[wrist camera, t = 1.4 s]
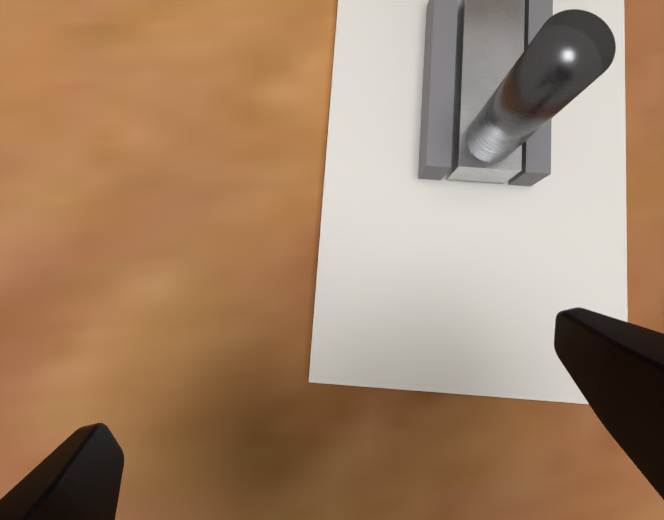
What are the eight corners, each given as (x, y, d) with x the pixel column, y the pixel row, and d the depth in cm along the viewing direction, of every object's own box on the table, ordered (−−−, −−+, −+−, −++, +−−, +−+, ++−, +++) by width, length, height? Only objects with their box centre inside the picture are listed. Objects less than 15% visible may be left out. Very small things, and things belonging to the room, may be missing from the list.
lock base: (608, 400, 21) (819, 473, 12) (310, 376, 22) (290, 431, 12) (605, -99, 25) (769, -346, 15) (348, -112, 25) (354, -362, 16)
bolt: (504, 183, 21) (626, 93, 12) (447, 179, 21) (527, 87, 12) (508, 9, 22) (623, -190, 13) (454, 5, 22) (532, -194, 13)
